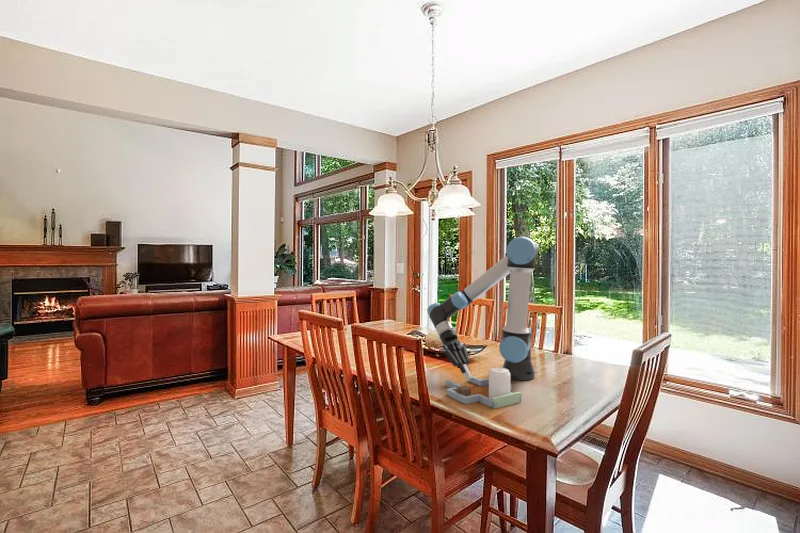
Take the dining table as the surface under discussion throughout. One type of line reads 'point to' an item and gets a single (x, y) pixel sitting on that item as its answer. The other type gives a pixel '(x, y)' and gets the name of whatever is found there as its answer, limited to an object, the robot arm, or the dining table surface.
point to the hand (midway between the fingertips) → (469, 379)
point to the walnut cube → (464, 390)
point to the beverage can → (499, 382)
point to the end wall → (507, 399)
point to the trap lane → (473, 398)
